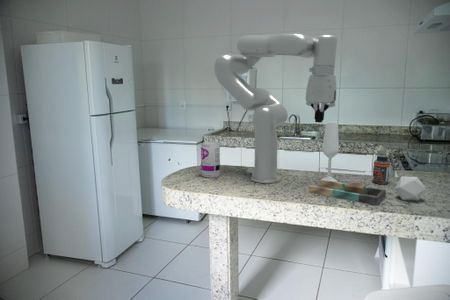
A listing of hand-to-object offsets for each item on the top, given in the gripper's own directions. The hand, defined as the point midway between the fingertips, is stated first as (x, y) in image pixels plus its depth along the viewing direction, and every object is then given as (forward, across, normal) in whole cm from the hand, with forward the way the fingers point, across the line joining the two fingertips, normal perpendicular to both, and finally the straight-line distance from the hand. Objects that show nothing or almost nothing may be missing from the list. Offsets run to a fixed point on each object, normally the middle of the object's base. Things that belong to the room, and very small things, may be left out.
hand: (318, 121), depth 122 cm
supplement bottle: (+25, +19, +24) cm, 40 cm away
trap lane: (+25, +13, 0) cm, 28 cm away
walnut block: (+25, +15, +1) cm, 30 cm away
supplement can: (+28, -44, -9) cm, 53 cm away
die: (+25, +32, +8) cm, 41 cm away
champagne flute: (+26, +1, +15) cm, 30 cm away
